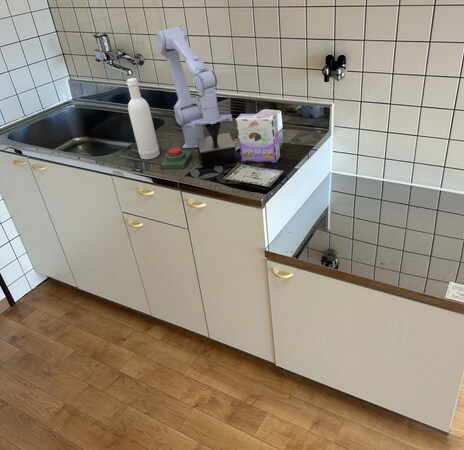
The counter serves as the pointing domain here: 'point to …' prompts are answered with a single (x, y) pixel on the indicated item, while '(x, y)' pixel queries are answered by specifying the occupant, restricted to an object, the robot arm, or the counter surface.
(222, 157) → the black boxy piece
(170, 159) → the green base
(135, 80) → the bottle
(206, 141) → the canister lid
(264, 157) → the candy box
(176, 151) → the timer button
